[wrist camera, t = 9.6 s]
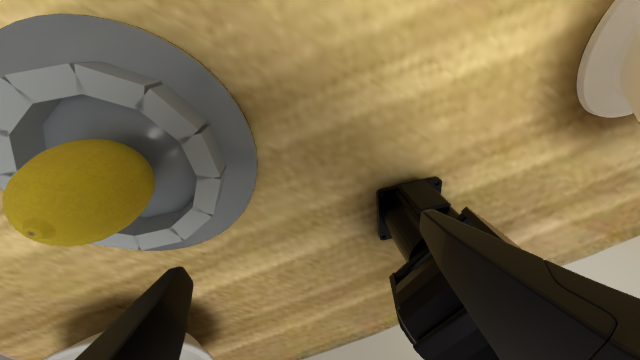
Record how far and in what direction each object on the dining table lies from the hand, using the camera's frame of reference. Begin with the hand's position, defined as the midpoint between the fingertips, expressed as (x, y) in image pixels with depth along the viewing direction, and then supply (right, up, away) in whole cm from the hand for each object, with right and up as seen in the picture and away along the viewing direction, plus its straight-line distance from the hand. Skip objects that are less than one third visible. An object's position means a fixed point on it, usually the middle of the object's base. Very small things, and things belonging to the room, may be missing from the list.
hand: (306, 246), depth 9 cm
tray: (-14, +4, +9) cm, 17 cm away
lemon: (-13, +4, +9) cm, 17 cm away
